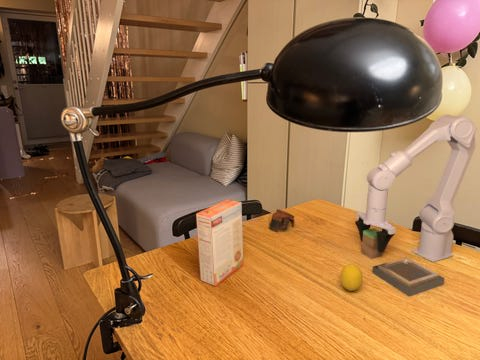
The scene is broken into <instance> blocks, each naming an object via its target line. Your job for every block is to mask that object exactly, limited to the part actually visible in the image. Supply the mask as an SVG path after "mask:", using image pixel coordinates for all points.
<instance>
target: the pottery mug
mask: <svg viewBox="0 0 480 360" xmlns="http://www.w3.org/2000/svg"><path fill="white" fill-rule="evenodd" d="M295 217H296V216H294V214H292V213H289V212H288V211H284V210H281V209H278V208H277V209H276V211H275V212H274V213H273V214H272V215H271V218H270V222H269V224H268V229H270V230H271V231H273V232H277V233H279V232H280V230H281V231H287V229H288V227H289V225H290V223H291V227H292V228H293V227H294V226H295Z"/></svg>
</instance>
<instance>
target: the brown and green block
mask: <svg viewBox="0 0 480 360" xmlns="http://www.w3.org/2000/svg"><path fill="white" fill-rule="evenodd" d="M378 231H380V230H379V229H377V228H374V227H373V228H370V229H368V230H364V231H363V239H362V242H361V243H362V244H361V251H360V253H361V254H362V255H363V256H365V257H367V258H369V259H371V260H373V259H377V258H380V257H383V254H384V252H378V237H377V233H376V232H378Z"/></svg>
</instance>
